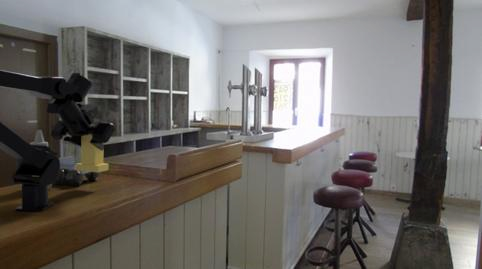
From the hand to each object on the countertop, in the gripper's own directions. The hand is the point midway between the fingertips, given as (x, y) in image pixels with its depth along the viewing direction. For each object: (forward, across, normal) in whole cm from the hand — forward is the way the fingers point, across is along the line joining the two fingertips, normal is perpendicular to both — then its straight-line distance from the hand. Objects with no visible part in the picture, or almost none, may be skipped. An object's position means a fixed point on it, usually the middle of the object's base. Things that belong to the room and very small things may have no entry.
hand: (95, 148), depth 110 cm
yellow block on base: (+4, 0, +6) cm, 7 cm away
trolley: (+12, +10, +6) cm, 16 cm away
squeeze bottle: (+3, +13, +15) cm, 20 cm away
